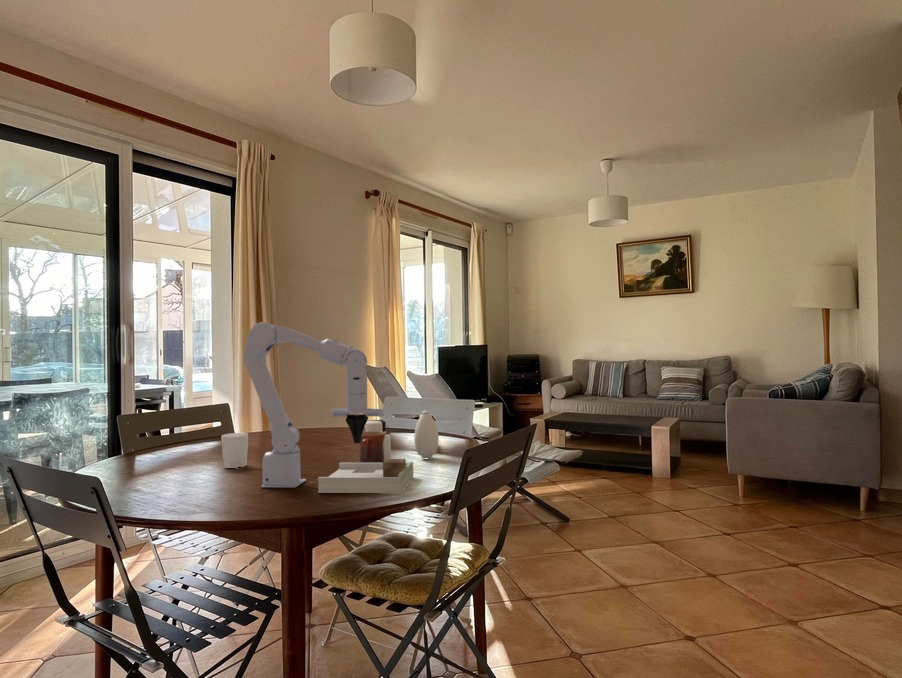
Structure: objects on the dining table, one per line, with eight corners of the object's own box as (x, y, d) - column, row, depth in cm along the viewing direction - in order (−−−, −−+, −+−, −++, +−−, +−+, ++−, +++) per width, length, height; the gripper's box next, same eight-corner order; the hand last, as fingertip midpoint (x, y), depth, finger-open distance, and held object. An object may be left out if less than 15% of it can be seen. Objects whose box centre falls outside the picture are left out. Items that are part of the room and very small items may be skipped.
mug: (362, 464, 176) (361, 431, 176) (389, 464, 175) (388, 431, 175) (350, 472, 164) (349, 437, 164) (379, 473, 163) (378, 437, 163)
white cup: (242, 469, 172) (241, 436, 173) (217, 469, 173) (216, 437, 173) (252, 463, 180) (252, 432, 180) (228, 464, 181) (227, 433, 181)
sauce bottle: (437, 461, 178) (436, 404, 178) (412, 461, 179) (411, 404, 179) (440, 456, 185) (439, 401, 186) (416, 456, 186) (415, 402, 186)
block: (383, 478, 146) (382, 462, 146) (387, 473, 151) (387, 458, 151) (402, 478, 146) (401, 462, 146) (405, 473, 151) (405, 458, 151)
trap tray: (318, 493, 142) (318, 476, 142) (340, 476, 159) (339, 461, 160) (400, 494, 139) (400, 476, 139) (413, 476, 157) (412, 461, 157)
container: (368, 458, 185) (367, 418, 185) (391, 458, 184) (390, 418, 184) (360, 463, 178) (360, 422, 178) (384, 463, 176) (383, 422, 176)
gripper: (326, 394, 152) (327, 445, 152) (378, 394, 150) (379, 445, 150) (334, 392, 159) (335, 440, 159) (385, 392, 157) (385, 440, 157)
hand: (357, 442), depth 155 cm, fingers closed
